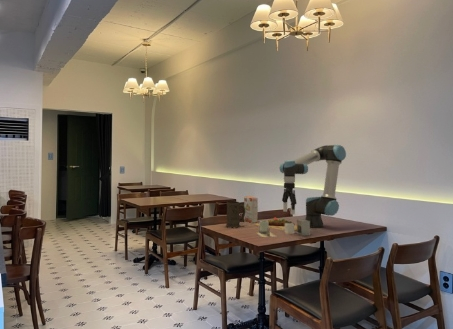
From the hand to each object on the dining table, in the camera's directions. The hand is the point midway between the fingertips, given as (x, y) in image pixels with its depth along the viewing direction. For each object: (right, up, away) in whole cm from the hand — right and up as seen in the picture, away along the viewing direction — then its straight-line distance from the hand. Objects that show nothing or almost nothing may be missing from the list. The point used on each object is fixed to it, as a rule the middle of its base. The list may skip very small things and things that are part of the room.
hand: (288, 212), depth 252 cm
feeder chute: (+11, -16, +2) cm, 19 cm away
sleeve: (0, -16, 0) cm, 16 cm away
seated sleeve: (-17, -14, +1) cm, 22 cm away
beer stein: (-36, -15, +33) cm, 52 cm away
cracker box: (-23, -15, +55) cm, 61 cm away
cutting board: (-3, -16, +30) cm, 34 cm away
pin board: (-16, -16, -4) cm, 23 cm away
